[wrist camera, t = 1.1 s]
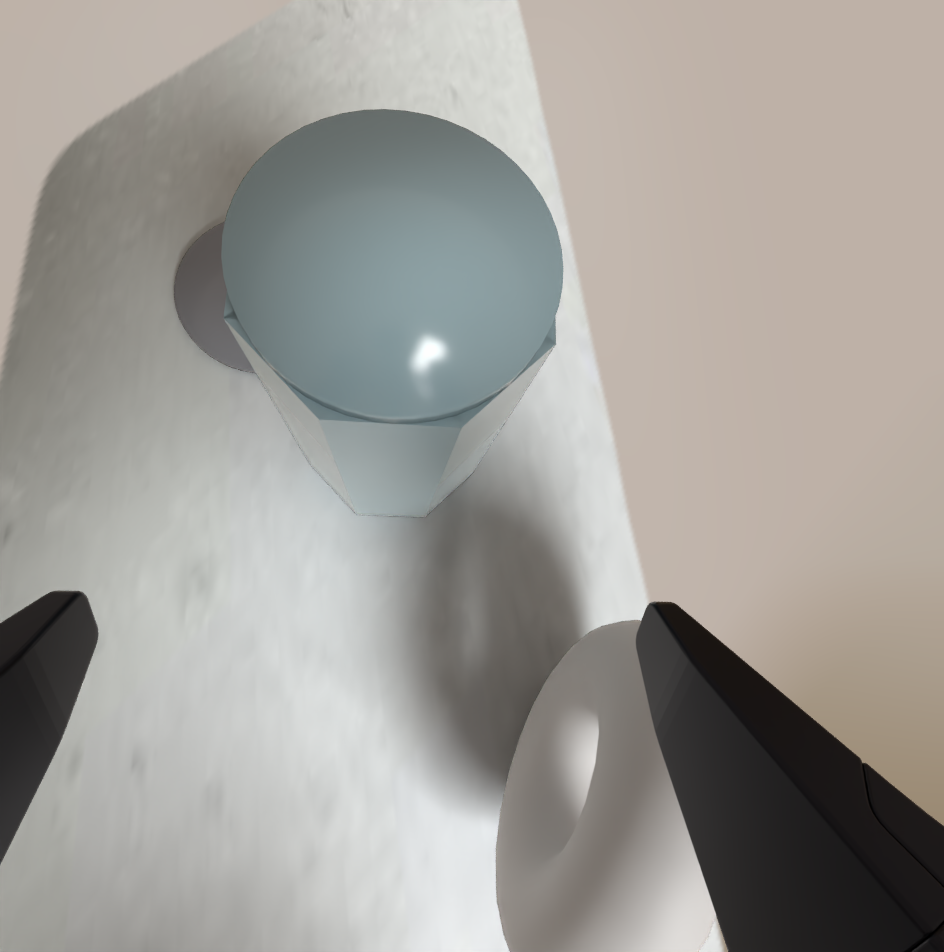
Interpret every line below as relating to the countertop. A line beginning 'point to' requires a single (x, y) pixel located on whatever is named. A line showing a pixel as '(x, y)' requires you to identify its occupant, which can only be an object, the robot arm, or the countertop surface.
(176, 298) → the slate coaster
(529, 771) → the donut
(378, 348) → the dome-topped hexagonal post
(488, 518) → the countertop surface
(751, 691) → the robot arm
